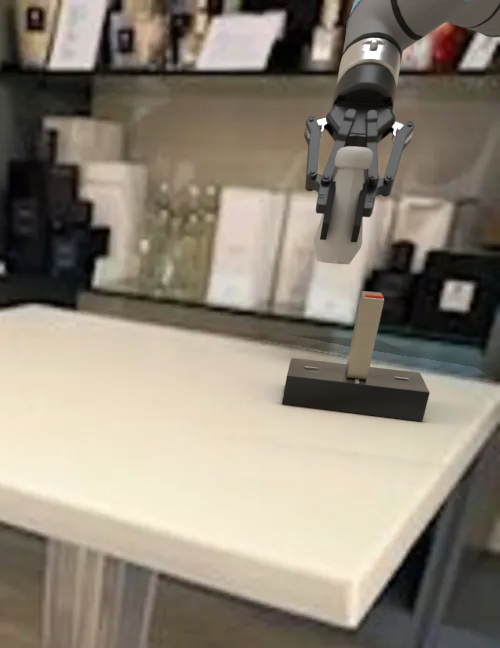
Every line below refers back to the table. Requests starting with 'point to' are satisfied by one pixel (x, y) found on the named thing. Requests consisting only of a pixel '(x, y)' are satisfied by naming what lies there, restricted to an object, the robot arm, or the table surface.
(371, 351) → the beige rectangular block
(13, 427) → the table surface
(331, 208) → the robot arm
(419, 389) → the rectangular base
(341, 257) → the salt shaker
